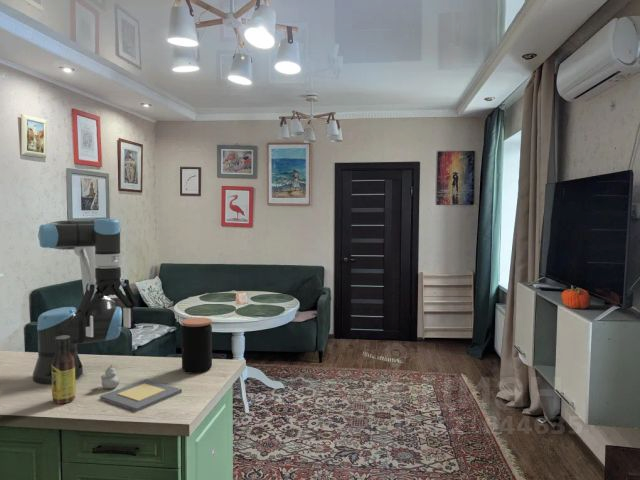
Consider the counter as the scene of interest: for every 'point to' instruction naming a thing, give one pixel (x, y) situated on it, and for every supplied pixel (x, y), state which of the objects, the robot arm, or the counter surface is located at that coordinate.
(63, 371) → the sauce bottle
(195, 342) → the coffee jar
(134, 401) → the board
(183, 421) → the counter surface
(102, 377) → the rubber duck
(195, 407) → the counter surface
